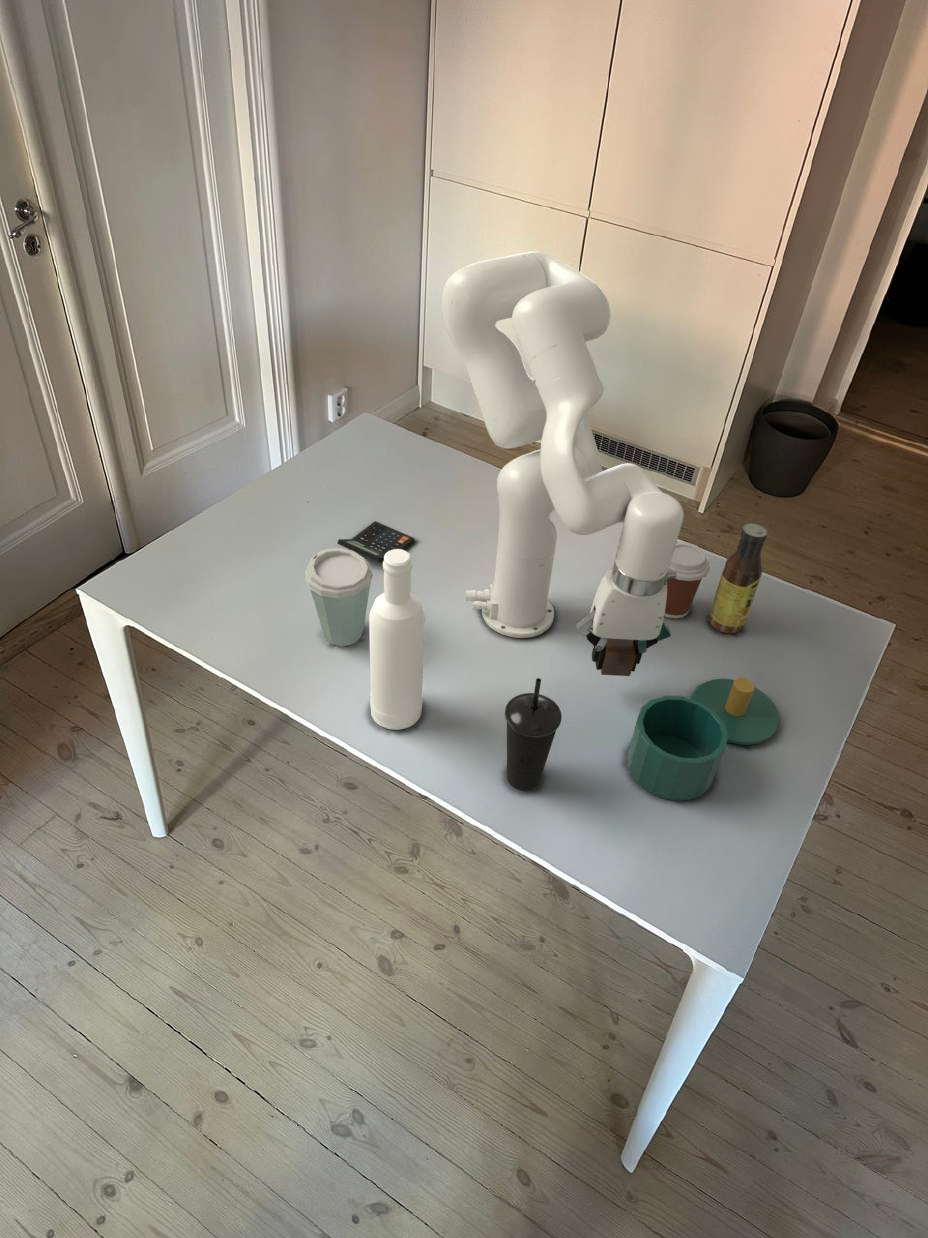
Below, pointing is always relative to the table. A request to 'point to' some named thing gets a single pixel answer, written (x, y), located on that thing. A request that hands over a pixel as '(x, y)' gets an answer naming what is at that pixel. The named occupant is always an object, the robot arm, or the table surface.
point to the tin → (676, 747)
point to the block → (618, 657)
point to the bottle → (396, 647)
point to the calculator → (377, 541)
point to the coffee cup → (685, 578)
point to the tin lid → (740, 709)
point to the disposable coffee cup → (340, 593)
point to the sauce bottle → (739, 581)
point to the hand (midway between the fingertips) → (614, 663)
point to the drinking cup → (529, 736)
